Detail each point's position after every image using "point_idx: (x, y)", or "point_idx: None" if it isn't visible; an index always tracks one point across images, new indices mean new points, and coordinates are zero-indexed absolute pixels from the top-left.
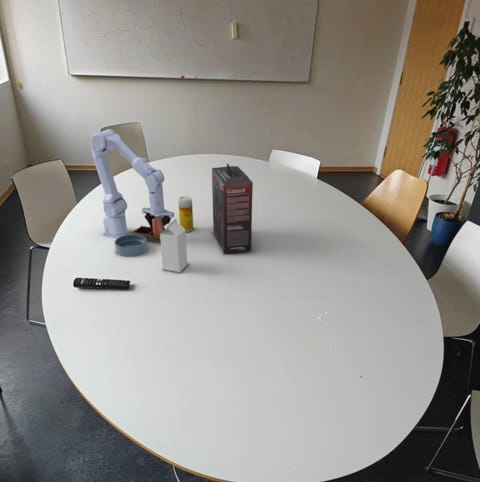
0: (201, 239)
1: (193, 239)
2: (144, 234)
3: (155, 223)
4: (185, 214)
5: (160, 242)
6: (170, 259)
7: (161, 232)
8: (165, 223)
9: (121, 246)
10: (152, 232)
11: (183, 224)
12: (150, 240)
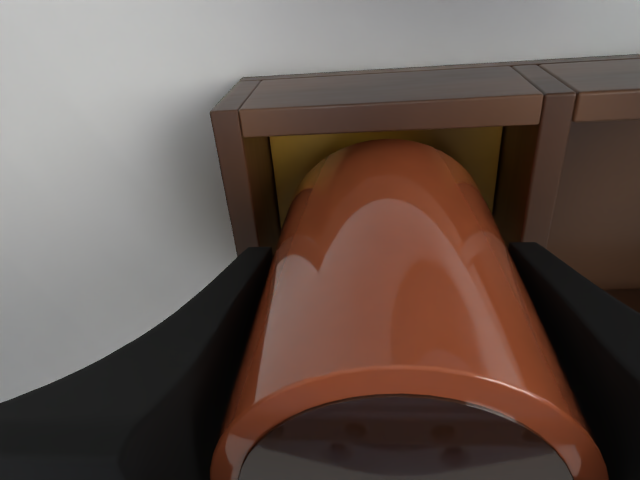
0: (27, 368)
1: (85, 346)
2: (632, 102)
3: (387, 298)
4: None
5: (290, 85)
6: None
7: (294, 219)
8: (104, 361)
9: None
10: (520, 239)
11: None
12: (476, 74)
